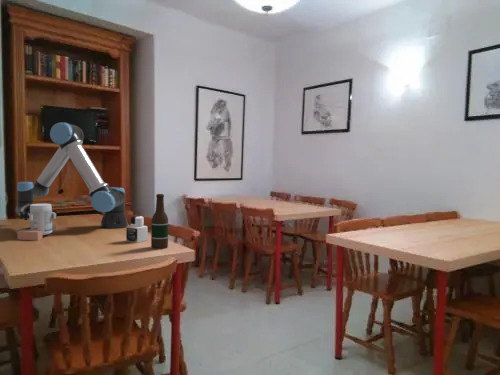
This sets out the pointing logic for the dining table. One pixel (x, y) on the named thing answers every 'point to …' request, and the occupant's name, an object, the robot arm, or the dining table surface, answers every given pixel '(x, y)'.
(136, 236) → the medicine bottle
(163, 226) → the beer bottle
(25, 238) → the block
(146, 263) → the dining table surface
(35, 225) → the supplement tub
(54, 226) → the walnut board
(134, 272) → the dining table surface
